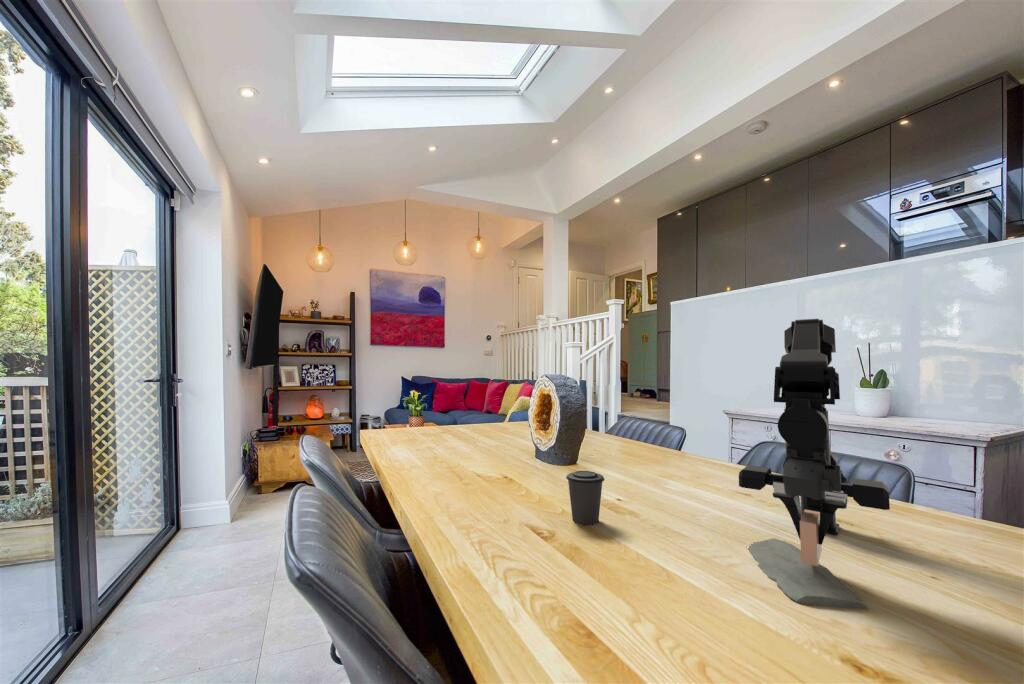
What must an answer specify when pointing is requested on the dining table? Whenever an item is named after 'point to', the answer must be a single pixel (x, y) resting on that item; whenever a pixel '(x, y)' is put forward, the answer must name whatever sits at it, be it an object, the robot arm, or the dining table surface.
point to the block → (810, 537)
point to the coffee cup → (585, 496)
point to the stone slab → (802, 576)
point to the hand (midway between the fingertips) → (811, 541)
